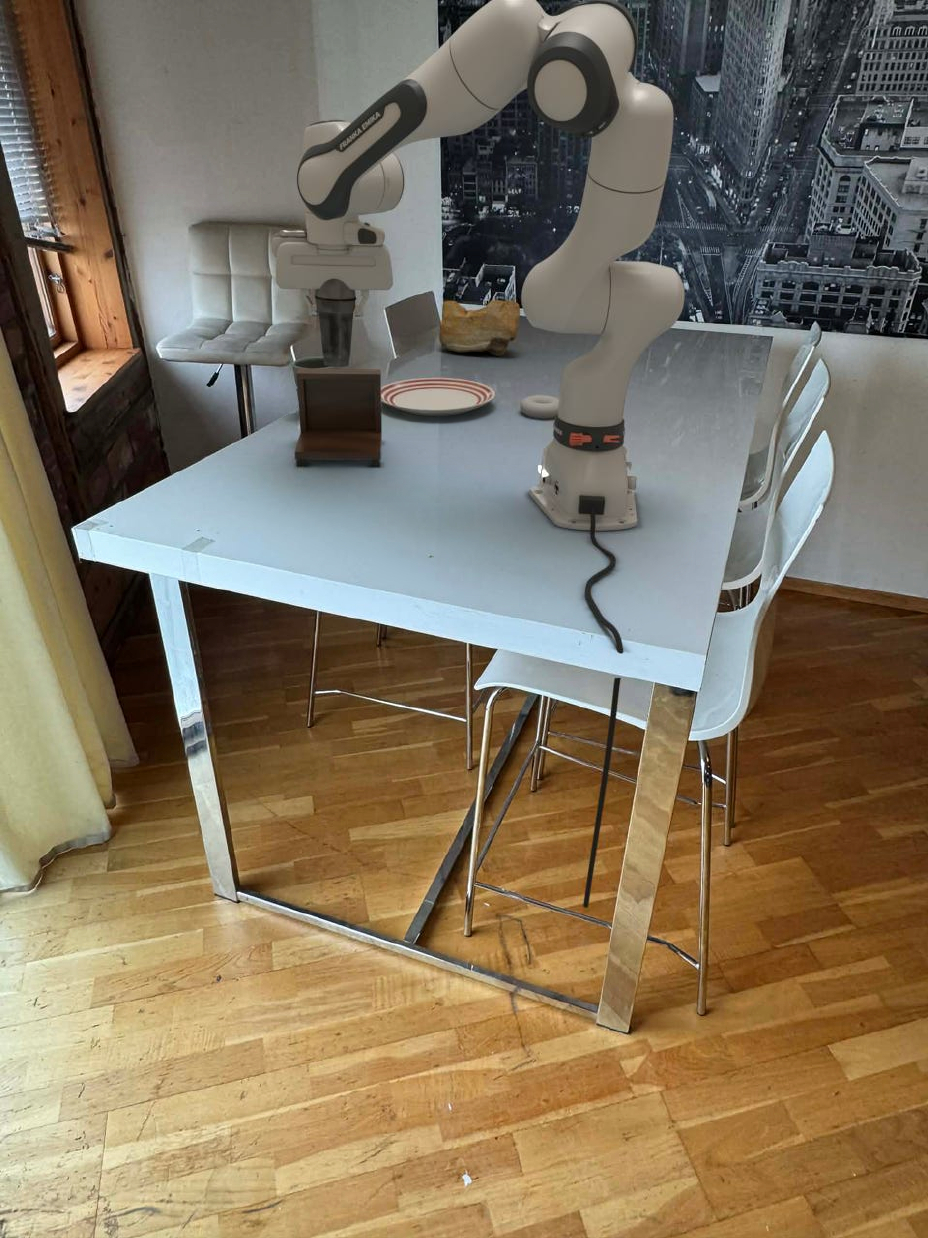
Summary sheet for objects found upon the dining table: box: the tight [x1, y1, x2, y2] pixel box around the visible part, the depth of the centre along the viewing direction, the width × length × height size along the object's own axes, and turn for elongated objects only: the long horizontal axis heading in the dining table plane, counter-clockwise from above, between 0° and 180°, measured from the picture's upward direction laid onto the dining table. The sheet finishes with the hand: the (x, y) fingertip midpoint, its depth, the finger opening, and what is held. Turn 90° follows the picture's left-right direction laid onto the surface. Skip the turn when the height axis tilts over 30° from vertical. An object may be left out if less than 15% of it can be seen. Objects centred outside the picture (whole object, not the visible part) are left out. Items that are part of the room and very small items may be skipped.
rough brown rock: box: [438, 299, 521, 357], centre depth 242 cm, size 23×17×15 cm
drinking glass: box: [291, 356, 341, 397], centre depth 183 cm, size 10×10×12 cm
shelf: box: [294, 368, 383, 468], centre depth 162 cm, size 15×16×15 cm
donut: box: [519, 394, 559, 420], centre depth 192 cm, size 10×4×10 cm
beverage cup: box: [314, 279, 357, 368], centre depth 149 cm, size 7×7×20 cm
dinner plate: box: [381, 377, 496, 417], centre depth 196 cm, size 27×27×3 cm
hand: (336, 315), depth 150 cm, fingers closed on beverage cup, 6 cm apart
